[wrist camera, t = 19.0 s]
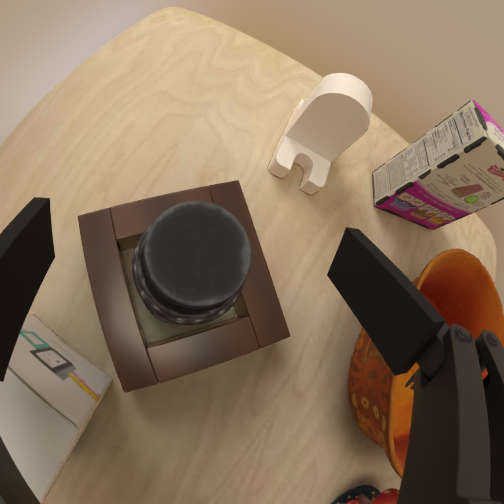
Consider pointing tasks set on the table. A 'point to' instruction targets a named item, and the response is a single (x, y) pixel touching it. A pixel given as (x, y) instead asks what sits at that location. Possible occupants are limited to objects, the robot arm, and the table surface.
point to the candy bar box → (445, 171)
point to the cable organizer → (323, 129)
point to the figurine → (368, 496)
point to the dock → (123, 309)
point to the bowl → (393, 387)
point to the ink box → (46, 403)
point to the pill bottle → (192, 263)
